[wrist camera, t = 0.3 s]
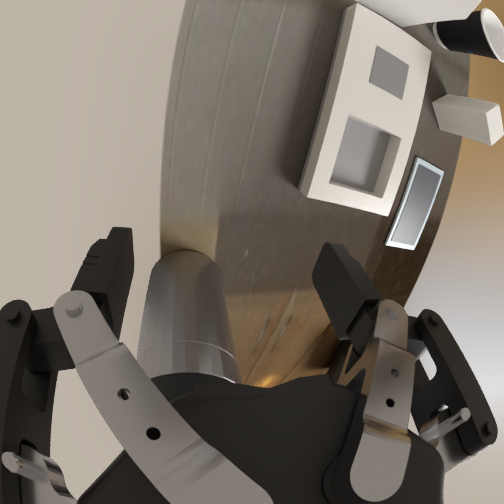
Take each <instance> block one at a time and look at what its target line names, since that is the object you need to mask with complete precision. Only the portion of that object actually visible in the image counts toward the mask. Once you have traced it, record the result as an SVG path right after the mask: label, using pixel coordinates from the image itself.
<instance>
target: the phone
mask: <svg viewBox="0 0 504 504" xmlns="http://www.w3.org/2000/svg"><path fill="white" fill-rule="evenodd" d="M443 173H444V172H443V171H441V170H440V169H438V168H436V167H435V166H433V165H431V164H429V163H427V162H426V161H424V160H422V159H420V158H418V157H416V159H415V162H414V165H413V169H412V172H411V175H410V178H409V181H408V184H407V187H406V190H405V192H404V195H403V198H402V201H401V204H400V206H399V209H398V212H397V214H396V217H395V219H394V222H393V224H392V227H391V229H390V232H389V234H388V237H387V239H386V241H385V245H389V246H394V247H400V248H405V249H411V250H414V249H415V246H416V244H417V242H418V240H419V237H420V235H421V233H422V230H423V228H424V226H425V223H426V221H427V218H428V216H429V213H430V210H431V208H432V205H433V202H434V200H435V197H436V194H437V191H438V188H439V186H440V183H441V180H442V176H443Z"/></svg>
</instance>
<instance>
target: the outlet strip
mask: <svg viewBox="0 0 504 504" xmlns="http://www.w3.org/2000/svg"><path fill="white" fill-rule="evenodd" d="M430 58H431V51H430V50H429V49H428V48H426V47H425V46H424V45H422V44H421V43H420V42H418V41H417V40H416V39H414V38H413V37H412V36H410V35H409V34H407V33H406V32H404V31H403V30H402V29H400V28H399V27H397V26H396V25H394V24H392V23H391V22H389V21H388V20H386V19H384V18H383V17H381V16H379V15H378V14H376V13H374V12H373V11H371V10H369V9H367V8H365V7H364V6H362V5H360V4H358V3H356V4H354V5H352V6H350V7H347V8H345V9H344V11H343V16H342V20H341V24H340V29H339V33H338V37H337V42H336V46H335V50H334V54H333V58H332V62H331V66H330V71H329V75H328V79H327V82H326V86H325V90H324V94H323V98H322V102H321V106H320V110H319V113H318V117H317V121H316V125H315V128H314V132H313V136H312V139H311V143H310V147H309V150H308V154H307V158H306V161H305V165H304V168H303V172H302V175H301V179H300V182H299V186H298V190H299V191H301V192H302V193H303V194H304V195H305V196H306V197H309V198H314V199H318V200H323V201H327V202H332V203H336V204H341V205H345V206H349V207H353V208H357V209H361V210H365V211H369V212H373V213H377V214H381V215H385V216H388V215H389V212H390V209H391V207H392V204H393V201H394V199H395V196H396V193H397V190H398V187H399V184H400V181H401V178H402V175H403V172H404V169H405V166H406V163H407V160H408V156H409V153H410V149H411V146H412V142H413V139H414V135H415V131H416V127H417V124H418V120H419V115H420V111H421V107H422V102H423V98H424V93H425V88H426V83H427V77H428V71H429V65H430Z"/></svg>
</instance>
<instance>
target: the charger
mask: <svg viewBox="0 0 504 504" xmlns="http://www.w3.org/2000/svg"><path fill="white" fill-rule="evenodd" d="M432 105H433V108H434V112H435V115H436V118H437V122H438V126H439V129H440V130H442V131H446V132H450V133H453V134H457V135H460V136H463V137H467V138H470V139H473V140H476V141H479V142H482V143H484V144H487V145H490V146H492V145H493V144H494V143H495V142H496V141H497V140H499V139H500V138H501V137H502V136H503V134H504V132H503V125H502V119H501V113H500V107H499V104H497V103H493V102H489V101H484V100H479V99H474V98H469V97H463V96H457V95H450V94H446V95H445V96H443V97H441V98H439V99H437V100H435V101H433V102H432Z"/></svg>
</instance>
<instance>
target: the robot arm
mask: <svg viewBox="0 0 504 504" xmlns="http://www.w3.org/2000/svg"><path fill="white" fill-rule="evenodd" d="M133 273H134V252H133V237H132V229H131V228H124V227H113V228H112V229H111V231H110V233H109V235H108V238H107V239H99V240H98V241H97V242H96V243H94V244H93V245H92V246H91V247H90V249H89V251H88V253H87V257H86V258H85V260H84V261H83V265H82V266H81V268H80V270H79V272H78V275H77V277H76V279H75V281H74V283H73V285H72V288H71V290H70V292H67V293H65V294H63V295H62V296H60V297H59V298H58V299H57V301H56V303H55V305H54V307H51V308H46V309H40V310H34V311H32V310H31V308H30V306H29V304H28V303H27V302H25V301H23V300H13V301H11V302H9V303H7V304H6V305H5V306H4V307H3V308H2V309H1V310H0V504H444V500H443V486H444V475H445V473H446V472H447V471H449V470H450V469H452V468H453V467H454V466H456V465H457V464H459V463H461V462H463V461H465V460H467V459H469V458H471V457H473V456H474V455H476V454H477V453H478V452H480V451H482V450H483V449H485V448H487V447H488V446H490V445H492V444H493V443H494V442H495V441H496V438H497V433H498V430H497V424H496V422H495V419H494V417H493V414H492V412H491V410H490V407H489V405H488V403H487V401H486V398H485V396H484V394H483V392H482V390H481V388H480V385H479V384H478V381H477V380H476V377H475V375H474V373H473V372H472V370H471V368H470V366H469V364H468V362H467V360H466V359H465V357H464V355H463V353H462V352H461V350H460V348H459V346H458V344H457V343H456V341H455V339H454V338H453V336H452V334H451V333H450V331H449V330H448V328H447V326H446V325H445V323H444V321H443V320H442V318H441V317H440V316H439V315H438V314H437V313H435V312H434V311H432V310H429V309H424V310H423V311H422V312H421V313H420V315H419V316H418V317H417V318H416V317H412V316H408V315H407V313H406V311H405V310H404V308H403V307H402V306H400V305H399V304H398V303H396V302H394V301H391V300H384V299H383V297H382V296H381V294H380V292H379V291H378V289H377V288H376V286H375V285H374V283H373V282H372V280H371V279H369V276H368V274H367V273H366V272H365V270H364V269H363V267H362V266H361V264H360V263H359V262H358V261H357V260H356V259H354V258H353V257H352V256H351V255H350V254H349V252H348V251H347V249H346V248H345V247H344V245H343V244H338V243H325V244H324V245H323V247H322V250H321V252H320V255H319V257H318V260H317V262H316V264H315V267H314V269H313V273H312V280H313V284H314V286H315V288H316V290H317V293H318V295H319V297H320V299H321V301H322V303H323V306H324V308H325V310H326V312H327V314H328V316H329V319H330V321H331V323H332V325H333V328H334V330H335V332H336V334H337V337H338V339H339V340H346V339H350V340H351V342H352V344H351V346H350V347H349V350H348V353H347V356H346V359H345V363H344V366H343V369H342V372H341V375H340V378H339V380H338V382H337V384H336V383H331V381H330V378H329V375H328V374H323V375H315V376H308V377H299V378H297V379H294V380H292V381H289V382H286V383H283V384H281V385H278V386H275V387H272V388H262V387H255V386H249V385H244V384H242V381H241V376H240V371H239V367H238V363H237V358H236V353H235V348H234V343H233V337H232V332H231V327H230V322H229V316H228V311H227V306H226V300H225V294H224V288H223V283H222V277H221V274H220V270H219V269H218V267H217V265H216V264H215V263H214V262H213V261H212V260H211V259H210V258H208V257H207V256H205V255H203V254H201V253H198V252H194V251H176V252H172V253H170V254H167V255H165V256H164V257H162V258H161V259H160V260H159V261H158V262H157V263H156V264H155V266H154V267H153V269H152V272H151V276H150V280H149V285H148V291H147V295H146V301H145V307H144V312H143V318H142V325H141V331H140V339H139V345H138V353H137V361H136V359H135V358H134V357H133V355H132V354H131V352H130V351H129V349H128V348H127V347H126V345H125V344H124V343H119V342H118V341H119V338H120V333H121V327H122V322H123V317H124V312H125V308H126V303H127V299H128V294H129V290H130V286H131V282H132V278H133ZM427 349H428V351H429V353H430V355H431V357H432V359H433V361H434V363H435V365H436V368H437V372H436V375H435V376H434V378H433V379H431V380H429V378H428V376H427V374H426V372H425V370H424V368H423V366H422V364H421V362H420V360H419V358H420V357H421V356H422V355H423V354H424V353H425V352H426V350H427ZM74 368H76V370H77V372H78V374H79V376H80V378H81V380H82V382H83V384H84V386H85V388H86V389H87V391H88V393H89V395H90V397H91V398H92V400H93V402H94V404H95V405H96V407H97V409H98V410H99V412H100V413H101V415H102V417H103V418H104V420H105V421H106V423H107V424H108V426H109V427H110V429H111V431H112V432H113V433H114V435H115V436H116V438H117V439H118V440H119V442H120V443H121V445H122V446H123V447H124V450H123V451H122V452H121V453H120V454H119V456H118V457H117V458H116V459H115V460H114V461H113V462H112V463H111V464H110V466H109V467H108V468H107V469H106V470H105V471H104V472H103V473H102V474H101V475H100V476H99V477H98V478H97V479H96V480H95V482H94V483H93V484H92V485H91V486H90V487H89V488H88V489H87V490H86V491H85V492H84V493H83V494H82V495H81V496H80V498H79V499H78V501H77V500H76V499H75V498H74V497H73V496H72V495H71V494H70V492H69V491H68V489H67V487H66V484H65V480H64V476H63V473H62V471H61V469H60V467H59V466H58V465H57V463H56V462H54V461H53V460H52V459H51V458H50V437H51V422H52V412H53V403H54V395H55V387H56V381H57V375H58V371H60V370H67V369H74ZM410 411H411V414H412V417H413V419H414V422H415V425H416V427H417V430H418V433H419V436H418V435H416V434H415V433H413V432H412V431H411V430H409V429H408V423H409V417H410Z"/></svg>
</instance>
